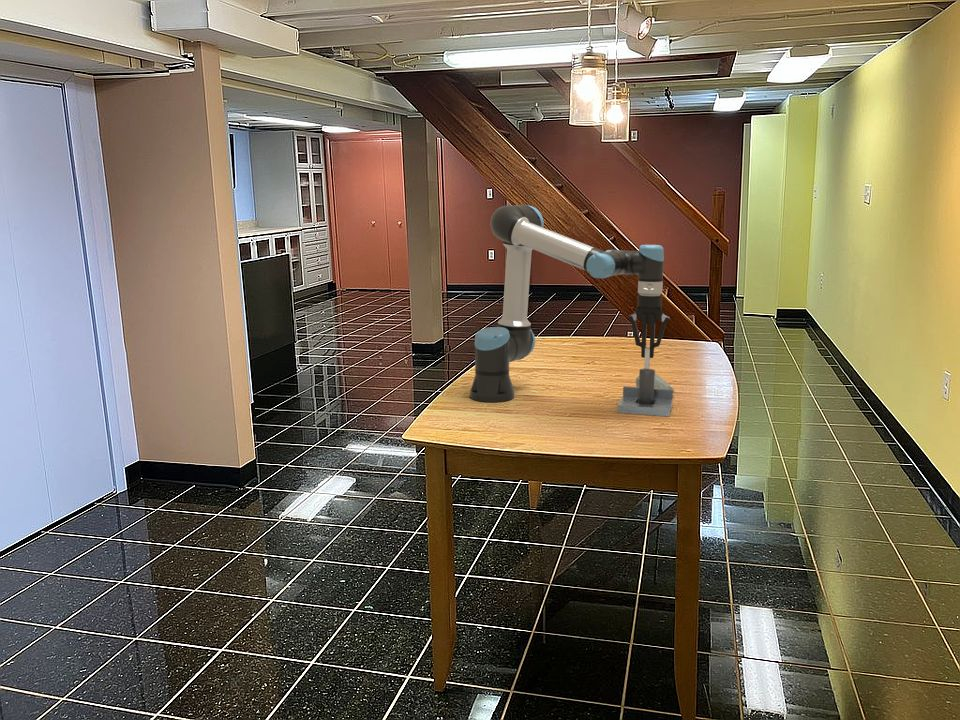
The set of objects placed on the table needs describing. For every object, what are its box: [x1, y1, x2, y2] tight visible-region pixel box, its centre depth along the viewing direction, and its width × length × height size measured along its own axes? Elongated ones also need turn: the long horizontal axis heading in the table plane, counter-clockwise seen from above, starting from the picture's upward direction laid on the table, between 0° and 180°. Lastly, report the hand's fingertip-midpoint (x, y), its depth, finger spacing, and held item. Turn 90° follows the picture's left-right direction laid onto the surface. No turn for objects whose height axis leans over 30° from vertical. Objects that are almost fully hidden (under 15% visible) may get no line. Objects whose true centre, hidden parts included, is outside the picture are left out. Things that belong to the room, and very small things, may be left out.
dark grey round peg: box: [638, 368, 656, 404], centre depth 261 cm, size 5×5×13 cm
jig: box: [617, 385, 674, 418], centre depth 262 cm, size 16×14×6 cm
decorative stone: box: [635, 367, 675, 394], centre depth 279 cm, size 13×11×10 cm
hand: (647, 367), depth 259 cm, fingers closed
